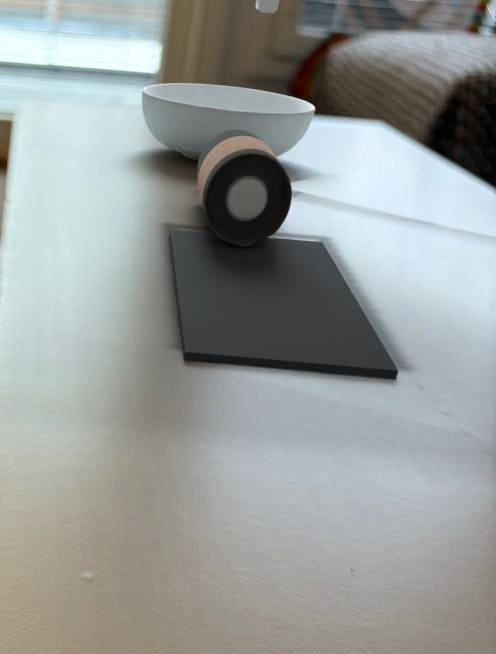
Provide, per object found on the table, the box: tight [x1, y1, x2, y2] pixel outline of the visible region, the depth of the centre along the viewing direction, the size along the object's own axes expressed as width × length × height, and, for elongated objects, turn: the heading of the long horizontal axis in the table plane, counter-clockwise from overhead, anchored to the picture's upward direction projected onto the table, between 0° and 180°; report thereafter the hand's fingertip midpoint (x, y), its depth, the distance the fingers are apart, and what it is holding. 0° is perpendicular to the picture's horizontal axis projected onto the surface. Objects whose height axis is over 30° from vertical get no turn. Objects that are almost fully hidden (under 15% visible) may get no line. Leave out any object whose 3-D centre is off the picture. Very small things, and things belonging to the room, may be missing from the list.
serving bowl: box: [141, 82, 316, 162], centre depth 120 cm, size 21×21×7 cm
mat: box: [168, 229, 399, 380], centre depth 77 cm, size 32×14×1 cm, turn 174°
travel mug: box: [196, 129, 293, 246], centre depth 92 cm, size 8×8×20 cm
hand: (265, 12), depth 92 cm, fingers closed
